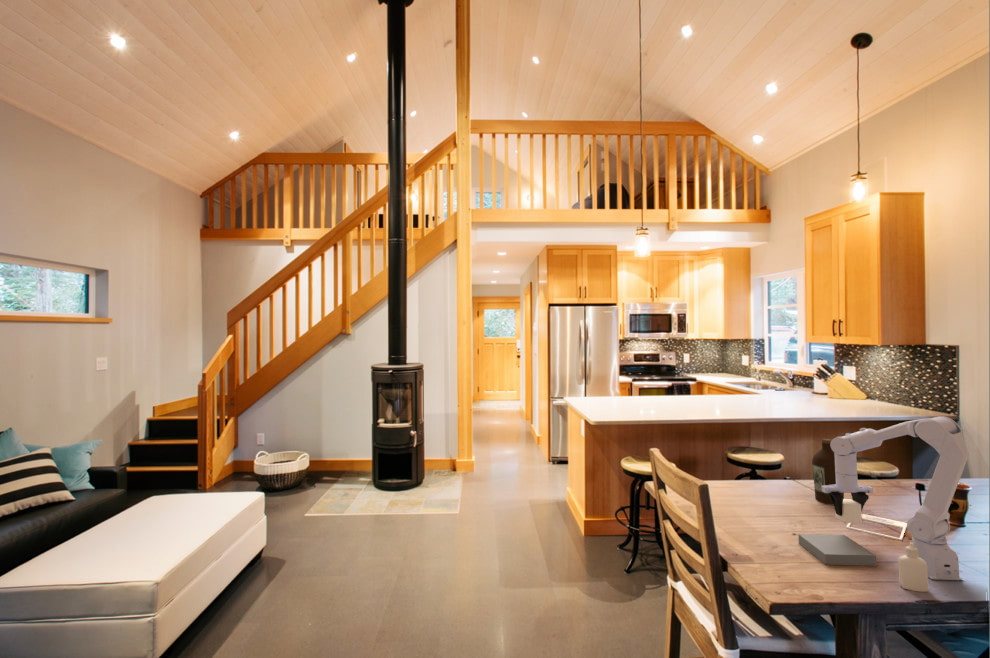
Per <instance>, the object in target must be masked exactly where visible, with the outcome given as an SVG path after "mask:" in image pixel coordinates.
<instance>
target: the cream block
mask: <svg viewBox="0 0 990 658" xmlns="http://www.w3.org/2000/svg"><path fill="white" fill-rule="evenodd" d="M834 514H835V515H834V516H835V518H837V519H838V520H839V521H841V522H842V523H845V524H848V523H852V524H862V522H863V520H862V515H861V514H862V512H861V504H859V503H857V502H855V501H853V499H851V498H844V499H843V503H842V516H839V515H838V514H836V512H835V511H834Z"/></svg>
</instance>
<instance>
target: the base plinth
mask: <svg viewBox="0 0 990 658" xmlns="http://www.w3.org/2000/svg"><path fill="white" fill-rule="evenodd" d="M798 544H799V545H801V546H802V547H803V548H804V549H805V550H807V551H808V552H809V553H810V554H812V555H813V556H814V557H816V558H817V559H818V560H819V561H821V563H823V564H824V565H827V566H829V565H836V566H837V565H838V566H874V567H876V566H877V554H874V553H873V552H871V551H870V550H868V549H867V548H866V547H864V546H862V545H861V544H859V543H858V542H856V541H855V540H853V539H852V538H850V537H849V536H847V535H845V534H825V533H823V534H817V533H816V534H815V533H814V534H813V533H798Z"/></svg>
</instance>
